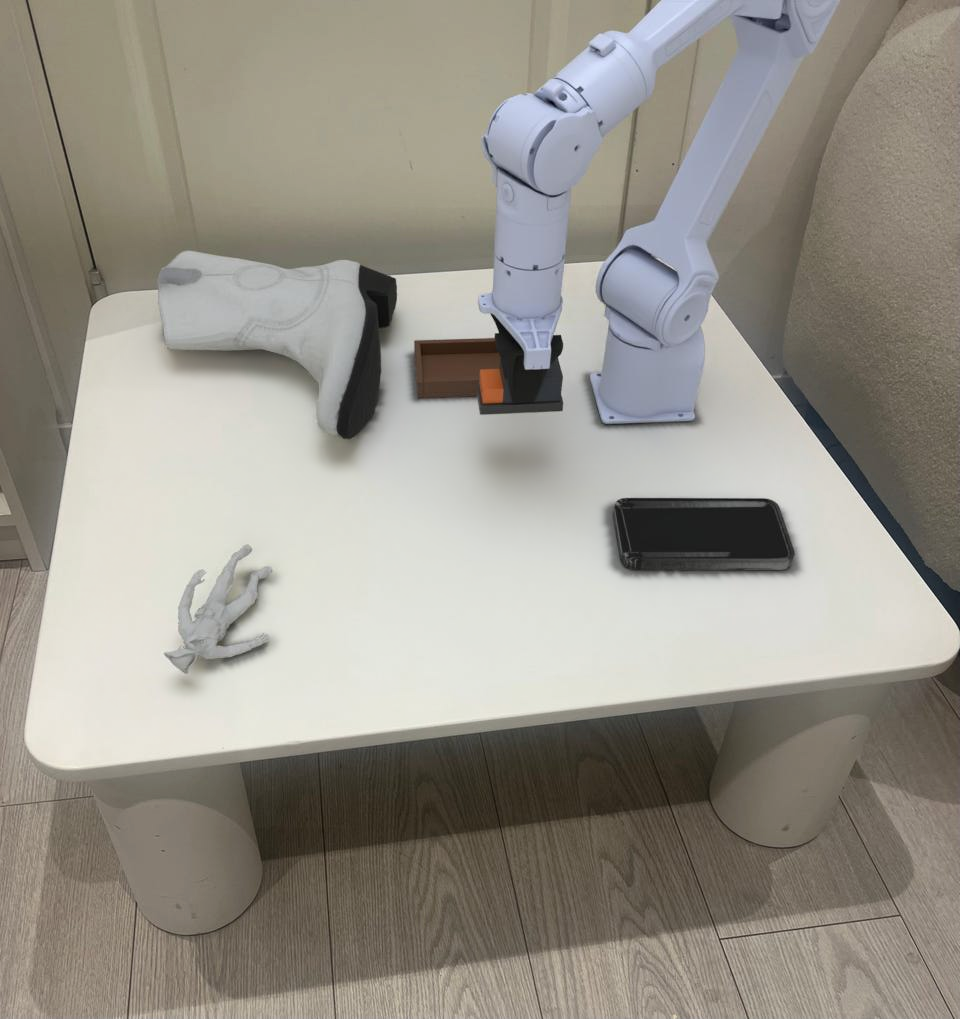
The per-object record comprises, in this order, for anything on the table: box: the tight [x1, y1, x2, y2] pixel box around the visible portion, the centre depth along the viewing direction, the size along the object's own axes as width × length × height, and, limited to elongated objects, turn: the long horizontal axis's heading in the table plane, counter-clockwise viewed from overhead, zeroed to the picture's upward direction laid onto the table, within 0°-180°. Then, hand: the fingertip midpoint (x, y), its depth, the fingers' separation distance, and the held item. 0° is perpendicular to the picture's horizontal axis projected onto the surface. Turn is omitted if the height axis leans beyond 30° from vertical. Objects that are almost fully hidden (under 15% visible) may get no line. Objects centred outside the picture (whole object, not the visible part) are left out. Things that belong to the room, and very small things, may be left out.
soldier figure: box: [163, 543, 274, 675], centre depth 80 cm, size 8×5×12 cm
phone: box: [612, 497, 796, 571], centre depth 90 cm, size 8×1×15 cm
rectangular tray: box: [413, 337, 500, 399], centre depth 105 cm, size 12×7×2 cm, turn 95°
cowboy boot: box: [157, 250, 398, 441], centre depth 103 cm, size 10×28×25 cm
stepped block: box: [476, 357, 564, 416], centre depth 91 cm, size 8×4×4 cm, turn 96°
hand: (520, 386), depth 91 cm, fingers closed on stepped block, 3 cm apart
